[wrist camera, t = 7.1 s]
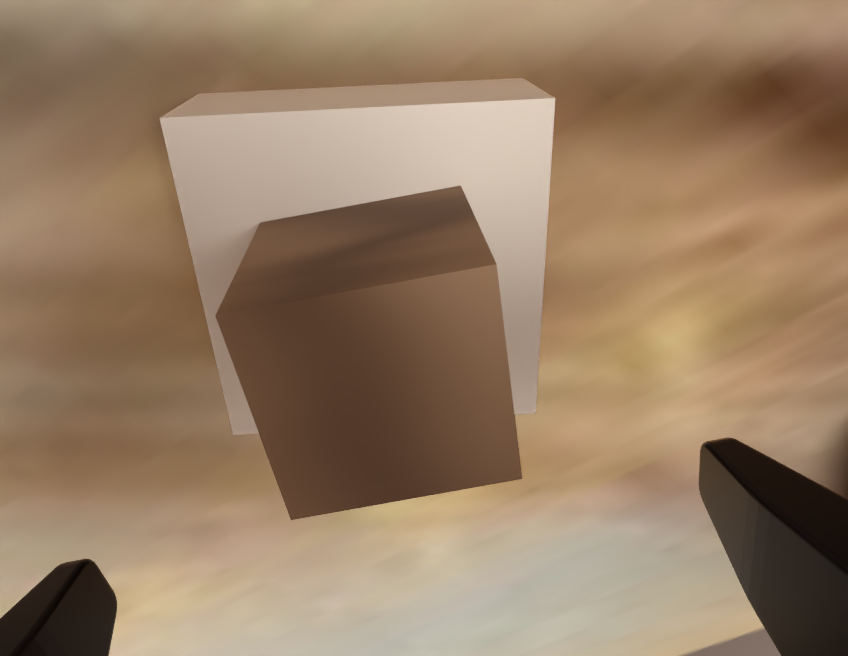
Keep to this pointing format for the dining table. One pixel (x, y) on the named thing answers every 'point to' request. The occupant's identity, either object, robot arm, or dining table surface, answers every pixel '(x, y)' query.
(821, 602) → the robot arm
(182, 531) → the dining table surface
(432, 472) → the walnut cube
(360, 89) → the cream block
